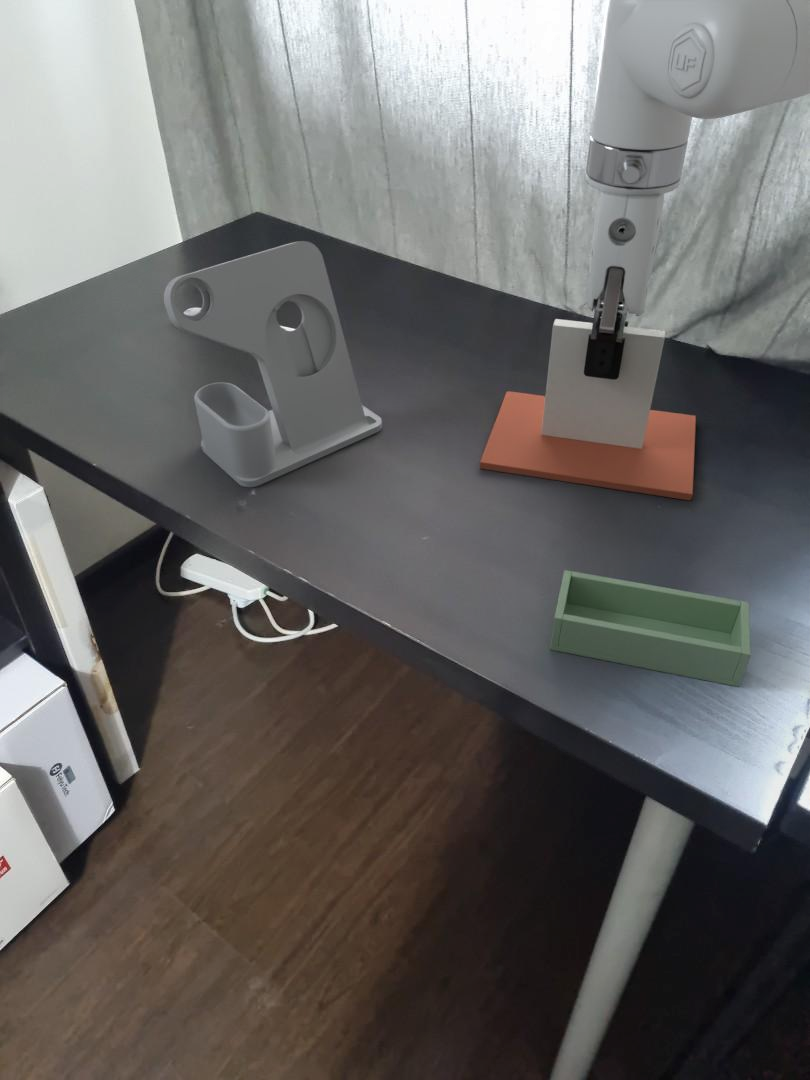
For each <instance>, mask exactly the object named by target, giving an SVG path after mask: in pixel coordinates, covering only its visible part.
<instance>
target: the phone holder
mask: <svg viewBox="0 0 810 1080" xmlns="http://www.w3.org/2000/svg"><path fill="white" fill-rule="evenodd" d="M187 284H189V285H192V286H194V287H196V289H198V291H199V292H200V295H201V298H202V306H201V307H200V308H201V310H200V311H199V312H198V313H197V314H195V315H192V316H188V315H185V314H184V312H182V311H181V310H180V309H179V307H178V306H177V303H176V294H177V291H178V290H179V289H180V287H182V286H183V285H187ZM286 302H292V303H294V304H296V305H297V306H298V308H299V309H300V313H301V321H300V324H299V325H298V327H296V328H294V329H295V330H293V331H286V330H285V329H284V328H281V327H280V326H281V325H280V323H279V321H278V319H277V313H278V310H280V308H281V307H282V305H284V303H286ZM163 303H164V307H165V310H166V313H167V315H168V319H169V321H170V322H171V324H172V325H173V326H174V327H175V328H176V329H178V330H180V331H182V332H185V333H188V334H191V335H193V336H197V337H200V338H202V339H205V340H208V341H211V342H214V343H217V344H220V345H222V346H225V347H229V348H231V349H234V350H237V351H240V352H243V353H246V354H249V355H250V356H252V357H253V358H254V359H255V360H256V362H257V364H258V368H259V372H260V374H261V377H262V380H263V384H264V387H265V390H266V393H267V396H268V400H269V404H270V407H271V409H270V410H268V409H267V408H265V406H263V405H261V403H259V402H258V401H256V400H255V399H254V398H252V397H251V396H250V395H249V394H247V393H246V392H245V391H244V390H242V389H241V388H239V386H237V385H235V384H233V383H229V382H213V383H209V384H206V385H203V386H202V387H200V388H199V389H198V390H197V391H196V392H195V394H194V396H193V399H194V400H193V401H194V404H195V409H196V414H197V419H198V425H199V428H200V429H199V430H200V433H201V438H202V439H201V441H200V446H201V450H202V452H203V454H205V455H206V456H207V457H208V458H209V459H211V460H212V462H214V463H215V464H216V465H217V466H218V467H219V468H221V469H222V470H223V471H224V472H225V473H226V474H227V475H228V476H229V477H230V478H231V479H232V480H234V482H236V483H237V484H238V485H240V486H241V487H244V488H255V487H258V486H261V485H263V484H265V483H268V482H271V481H272V480H274V479H276V478H280V477H281V476H283V475H285V474H287V473H290V472H292V471H295V470H297V469H299V468H301V467H303V466H306V465H308V464H310V463H313V462H315V461H317V460H319V459H321V458H323V457H325V456H328V455H331V454H332V453H334V452H337V451H339V450H341V449H344V448H346V447H348V446H350V445H352V444H354V443H357V442H358V441H361V440H363V439H366V438H368V437H370V436H372V435H374V434H377V433H378V432H380V431H381V430H382V428H383V421H382V417H380V416H379V415H377V414H376V413H374V412H373V411H372V410H371V409H369V408H367V407H366V406H364V405H363V403H362V400H361V395H360V393H359V388H358V386H357V381H356V377H355V373H354V370H353V366H352V361H351V358H350V354H349V350H348V346H347V342H346V339H345V335H344V332H343V328H342V324H341V320H340V317H339V313H338V309H337V305H336V301H335V298H334V294H333V290H332V286H331V284H330V279H329V275H328V271H327V267H326V264H325V260H324V256H323V254H322V252H321V250H320V249H319V247H317V246H316V245H315V244H314V243H312V242H311V241H307V240H300V241H292V242H289V243H285V244H282V245H279V246H276V247H273V248H269V249H266V250H262V251H259V252H256V253H252V254H249V255H245V256H242V257H238V258H235V259H232V260H229V261H225V262H222V263H219V264H215V265H212V266H209V267H205V268H202V269H199V270H196V271H192V272H188V273H185V274H182V275H179V276H176V277H174V278H173V279H171V280H170V281H169V282H168V283H167V285H166V287H165V289H164V292H163Z"/></svg>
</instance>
